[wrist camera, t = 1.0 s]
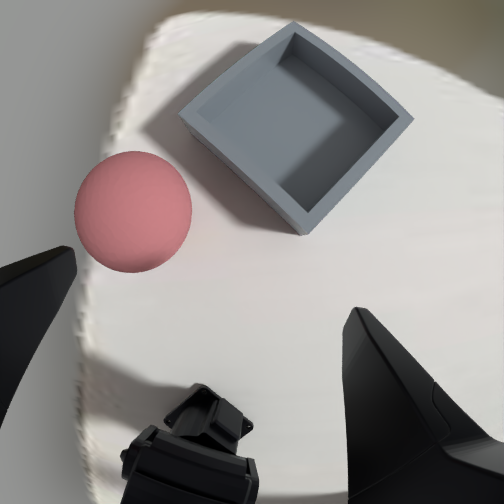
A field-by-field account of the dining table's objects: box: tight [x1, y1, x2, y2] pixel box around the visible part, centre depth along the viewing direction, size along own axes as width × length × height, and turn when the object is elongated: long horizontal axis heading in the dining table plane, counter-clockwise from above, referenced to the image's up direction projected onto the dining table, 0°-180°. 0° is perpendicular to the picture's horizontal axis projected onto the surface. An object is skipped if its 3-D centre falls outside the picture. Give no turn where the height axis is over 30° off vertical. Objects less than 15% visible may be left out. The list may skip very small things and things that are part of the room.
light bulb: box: [74, 151, 192, 273], centre depth 19 cm, size 7×7×12 cm
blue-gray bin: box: [178, 21, 414, 236], centre depth 22 cm, size 13×13×4 cm
